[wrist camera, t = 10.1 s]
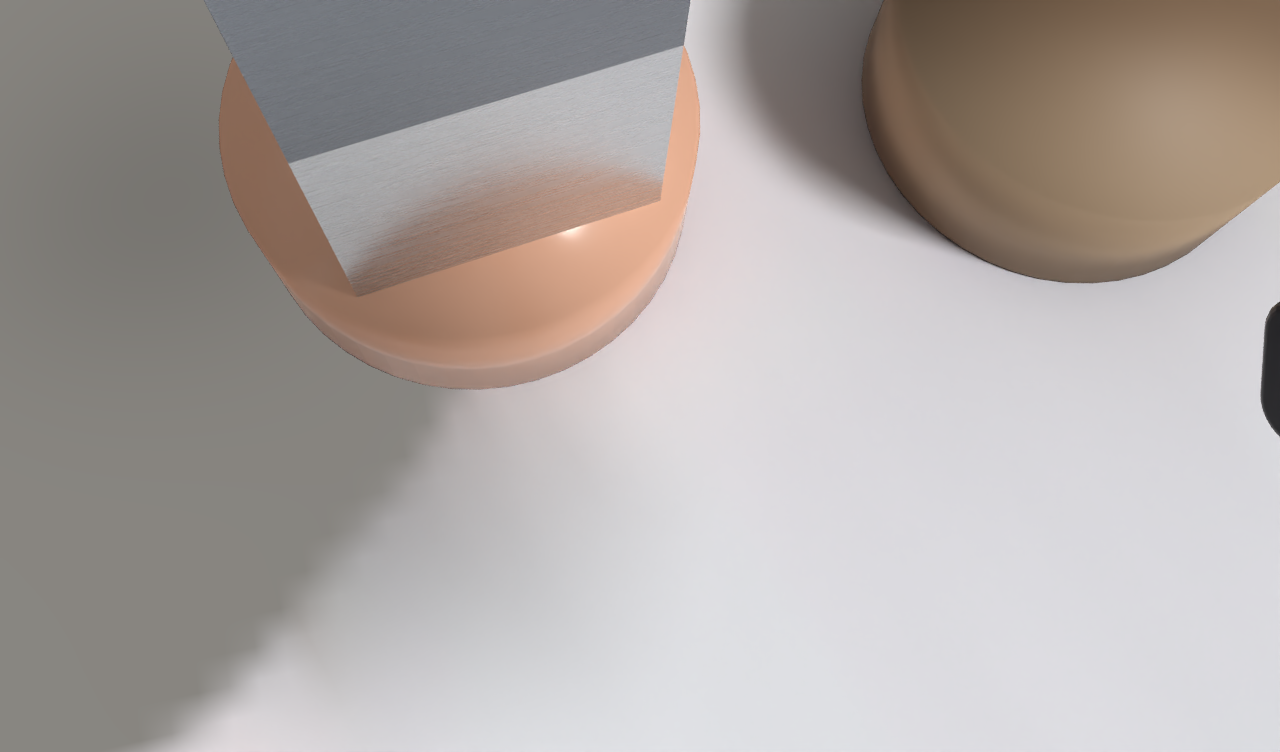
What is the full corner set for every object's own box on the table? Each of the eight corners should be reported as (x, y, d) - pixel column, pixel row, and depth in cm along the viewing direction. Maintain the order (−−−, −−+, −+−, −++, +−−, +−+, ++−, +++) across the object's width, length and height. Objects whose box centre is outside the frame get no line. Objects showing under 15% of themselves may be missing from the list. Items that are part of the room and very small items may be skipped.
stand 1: (638, 430, 18) (648, 386, 16) (208, 338, 18) (152, 280, 16) (720, 52, 20) (738, -37, 18) (331, -28, 21) (298, -129, 18)
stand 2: (1245, 322, 19) (1337, 264, 17) (833, 235, 20) (868, 166, 17) (1262, -28, 21) (1348, -122, 19) (891, -104, 22) (929, -208, 19)
